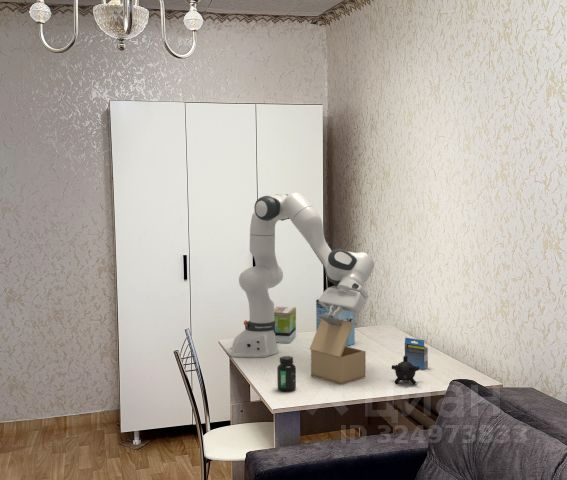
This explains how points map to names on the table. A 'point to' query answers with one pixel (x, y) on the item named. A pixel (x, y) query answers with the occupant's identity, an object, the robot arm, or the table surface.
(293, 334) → the tea box
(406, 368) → the toy ball
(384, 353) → the table surface
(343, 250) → the robot arm
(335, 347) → the lid
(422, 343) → the label tape box
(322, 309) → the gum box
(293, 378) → the supplement bottle
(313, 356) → the carton
